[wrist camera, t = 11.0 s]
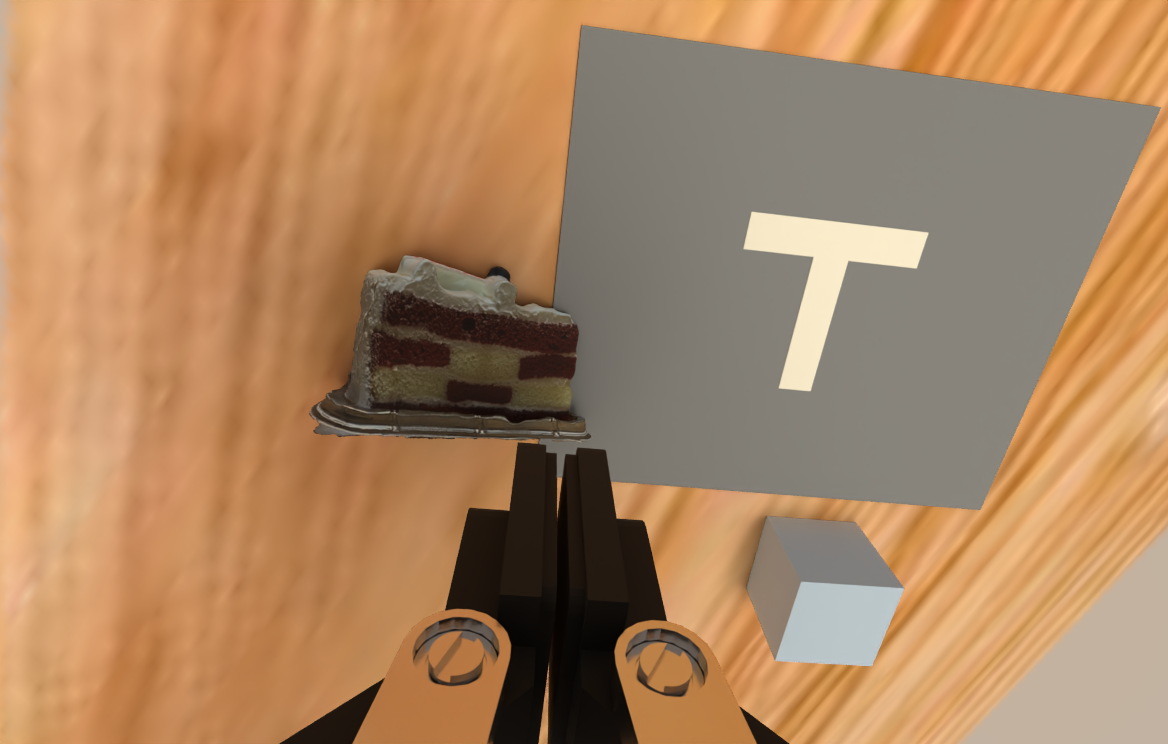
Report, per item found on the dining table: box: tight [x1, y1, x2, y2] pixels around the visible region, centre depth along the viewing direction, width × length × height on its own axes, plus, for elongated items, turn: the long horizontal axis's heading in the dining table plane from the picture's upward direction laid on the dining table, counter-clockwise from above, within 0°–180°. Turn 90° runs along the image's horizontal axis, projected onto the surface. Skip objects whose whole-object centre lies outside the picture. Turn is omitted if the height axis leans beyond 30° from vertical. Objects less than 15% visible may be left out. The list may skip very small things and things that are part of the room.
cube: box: [746, 516, 904, 666], centre depth 31 cm, size 5×5×5 cm
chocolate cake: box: [309, 255, 592, 443], centre depth 26 cm, size 10×7×12 cm
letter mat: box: [539, 25, 1161, 510], centre depth 27 cm, size 20×24×1 cm
